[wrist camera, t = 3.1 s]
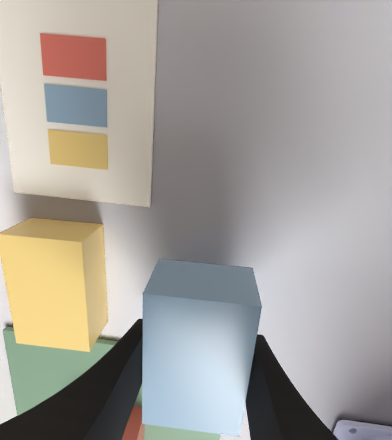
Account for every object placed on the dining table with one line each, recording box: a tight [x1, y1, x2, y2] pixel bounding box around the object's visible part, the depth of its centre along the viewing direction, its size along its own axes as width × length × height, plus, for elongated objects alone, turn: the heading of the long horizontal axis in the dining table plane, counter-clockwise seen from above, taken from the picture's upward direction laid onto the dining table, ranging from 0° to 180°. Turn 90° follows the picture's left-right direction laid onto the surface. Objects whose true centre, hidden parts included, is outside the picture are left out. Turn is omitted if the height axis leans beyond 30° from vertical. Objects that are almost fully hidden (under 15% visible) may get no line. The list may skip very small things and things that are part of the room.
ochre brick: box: [0, 218, 108, 352], centre depth 17 cm, size 4×7×3 cm, turn 176°
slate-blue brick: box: [142, 259, 262, 437], centre depth 13 cm, size 4×7×3 cm, turn 176°
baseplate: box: [3, 326, 220, 440], centre depth 22 cm, size 16×16×1 cm
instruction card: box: [0, 0, 158, 207], centre depth 14 cm, size 8×10×1 cm
